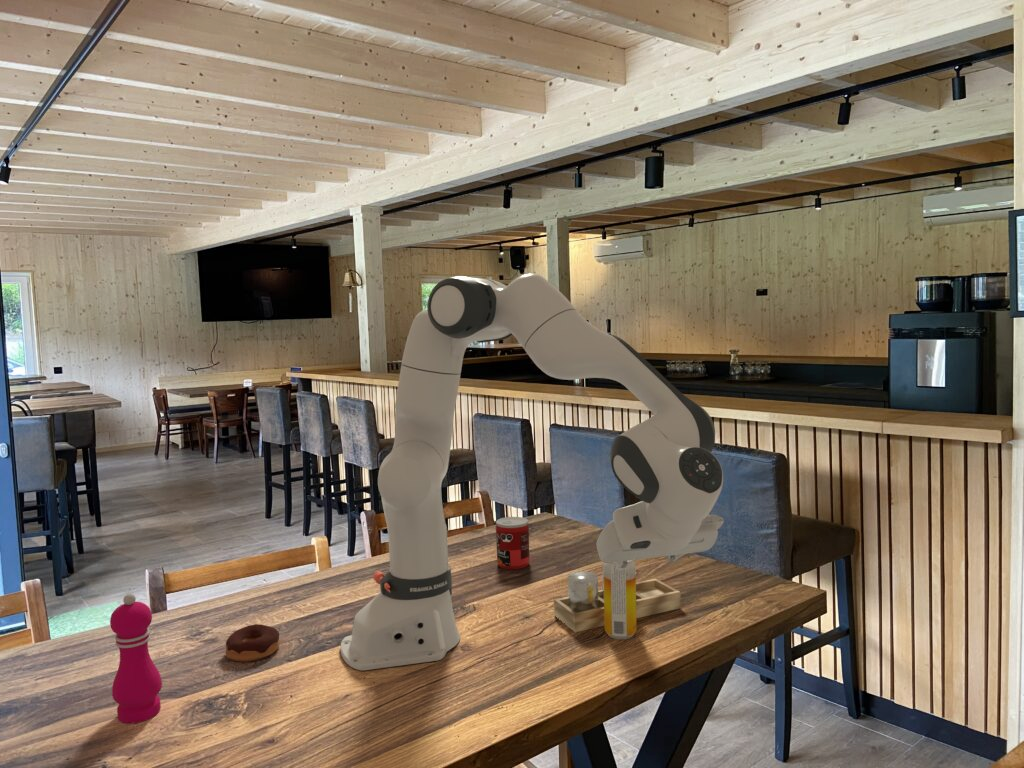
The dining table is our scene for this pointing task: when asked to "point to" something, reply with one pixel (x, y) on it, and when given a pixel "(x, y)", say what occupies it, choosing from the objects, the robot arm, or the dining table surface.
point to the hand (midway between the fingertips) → (645, 561)
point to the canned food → (512, 542)
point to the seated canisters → (583, 591)
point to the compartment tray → (648, 602)
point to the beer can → (620, 600)
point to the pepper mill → (134, 663)
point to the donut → (252, 643)
